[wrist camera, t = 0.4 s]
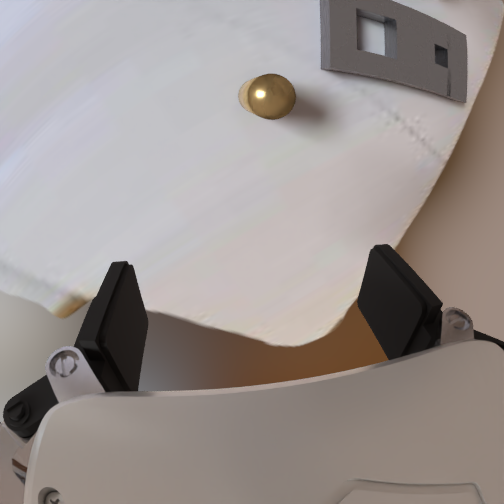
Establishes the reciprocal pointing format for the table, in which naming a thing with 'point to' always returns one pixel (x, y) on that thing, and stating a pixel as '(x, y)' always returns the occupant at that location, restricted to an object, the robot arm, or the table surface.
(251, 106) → the cylinder
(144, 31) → the table surface
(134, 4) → the table surface
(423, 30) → the block
